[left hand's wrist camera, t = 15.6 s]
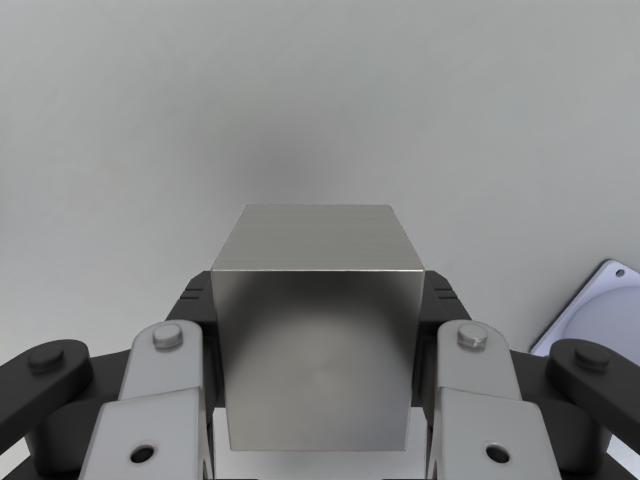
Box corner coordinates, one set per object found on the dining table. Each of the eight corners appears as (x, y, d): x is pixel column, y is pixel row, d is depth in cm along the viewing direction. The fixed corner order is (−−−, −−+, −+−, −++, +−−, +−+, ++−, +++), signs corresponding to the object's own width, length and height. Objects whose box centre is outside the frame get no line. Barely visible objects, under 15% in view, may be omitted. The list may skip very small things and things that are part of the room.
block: (256, 342, 13) (229, 452, 9) (246, 204, 11) (209, 268, 8) (381, 342, 13) (406, 452, 9) (390, 204, 11) (426, 267, 8)
